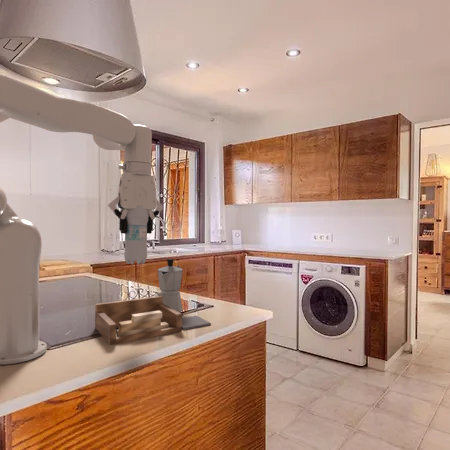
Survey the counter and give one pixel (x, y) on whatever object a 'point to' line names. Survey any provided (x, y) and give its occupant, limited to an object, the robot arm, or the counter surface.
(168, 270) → the coffee maker
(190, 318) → the mat
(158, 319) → the offcut stack
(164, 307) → the rack
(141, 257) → the bottle
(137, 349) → the counter surface
